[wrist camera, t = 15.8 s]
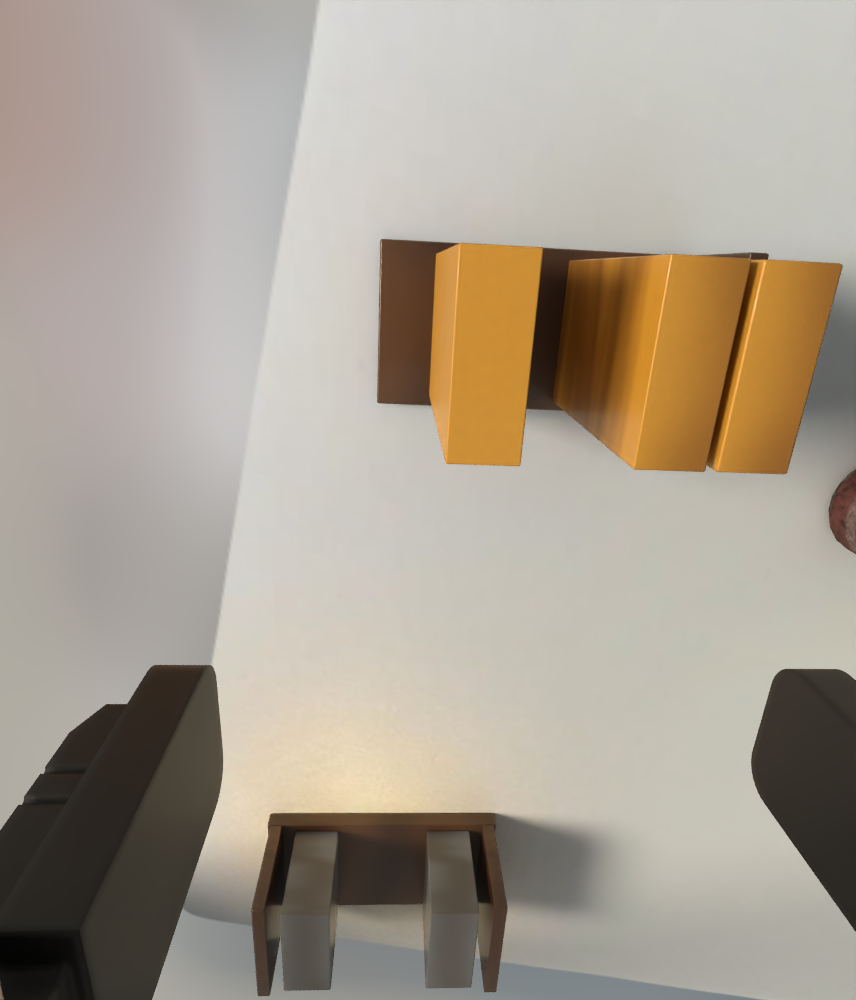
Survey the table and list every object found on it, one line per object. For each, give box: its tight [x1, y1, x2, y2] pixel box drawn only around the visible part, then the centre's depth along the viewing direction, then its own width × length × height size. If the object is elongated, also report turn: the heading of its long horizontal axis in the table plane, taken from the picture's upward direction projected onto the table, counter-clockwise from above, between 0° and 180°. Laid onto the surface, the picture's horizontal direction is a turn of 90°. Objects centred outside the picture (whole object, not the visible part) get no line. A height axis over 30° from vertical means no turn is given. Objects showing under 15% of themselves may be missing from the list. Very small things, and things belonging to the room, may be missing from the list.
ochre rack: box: [377, 239, 842, 474], centre depth 26 cm, size 16×8×13 cm, turn 87°
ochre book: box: [429, 243, 543, 466], centre depth 25 cm, size 3×7×12 cm, turn 177°
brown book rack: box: [251, 814, 507, 996], centre depth 42 cm, size 16×8×7 cm, turn 87°
